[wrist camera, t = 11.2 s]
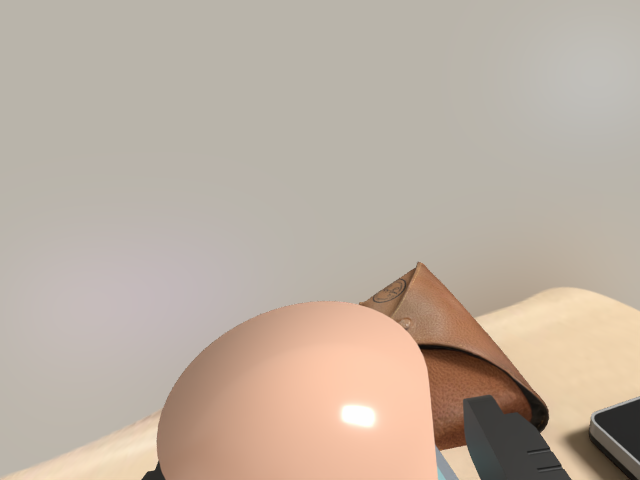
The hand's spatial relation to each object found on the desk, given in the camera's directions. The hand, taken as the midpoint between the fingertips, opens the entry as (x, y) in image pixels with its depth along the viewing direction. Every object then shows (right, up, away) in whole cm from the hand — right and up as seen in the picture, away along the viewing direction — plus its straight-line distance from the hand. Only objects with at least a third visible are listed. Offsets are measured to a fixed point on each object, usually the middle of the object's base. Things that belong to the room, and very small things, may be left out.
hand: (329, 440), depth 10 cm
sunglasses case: (+9, -4, +19) cm, 21 cm away
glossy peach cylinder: (+2, -8, +1) cm, 9 cm away
